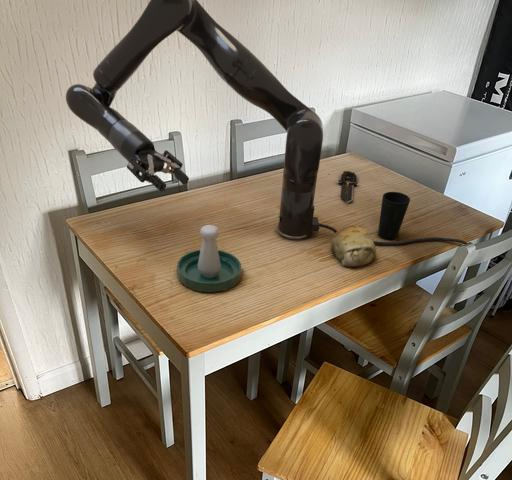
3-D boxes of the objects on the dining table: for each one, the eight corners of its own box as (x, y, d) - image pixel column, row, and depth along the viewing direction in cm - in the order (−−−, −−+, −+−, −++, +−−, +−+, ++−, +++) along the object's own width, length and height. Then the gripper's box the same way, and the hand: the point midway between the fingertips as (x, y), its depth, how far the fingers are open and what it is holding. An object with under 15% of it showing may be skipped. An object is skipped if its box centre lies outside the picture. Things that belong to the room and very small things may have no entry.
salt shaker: (217, 281, 134) (218, 235, 125) (195, 278, 134) (194, 231, 126) (223, 269, 138) (224, 224, 130) (201, 266, 139) (201, 220, 130)
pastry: (340, 238, 156) (345, 213, 150) (381, 251, 151) (387, 225, 146) (320, 259, 146) (324, 232, 141) (363, 273, 142) (369, 246, 136)
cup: (384, 226, 163) (393, 189, 155) (405, 236, 159) (415, 198, 151) (369, 234, 159) (377, 196, 151) (390, 244, 155) (400, 206, 147)
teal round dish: (240, 259, 143) (240, 249, 141) (241, 294, 131) (242, 283, 129) (179, 258, 142) (179, 248, 140) (175, 292, 130) (175, 282, 128)
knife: (351, 205, 173) (351, 201, 172) (331, 202, 174) (331, 198, 173) (359, 176, 192) (360, 172, 191) (341, 173, 193) (342, 169, 192)
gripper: (114, 133, 126) (161, 178, 124) (155, 126, 136) (199, 167, 134) (105, 160, 131) (151, 203, 128) (145, 151, 141) (188, 191, 139)
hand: (176, 185), depth 131 cm, fingers open, 8 cm apart
